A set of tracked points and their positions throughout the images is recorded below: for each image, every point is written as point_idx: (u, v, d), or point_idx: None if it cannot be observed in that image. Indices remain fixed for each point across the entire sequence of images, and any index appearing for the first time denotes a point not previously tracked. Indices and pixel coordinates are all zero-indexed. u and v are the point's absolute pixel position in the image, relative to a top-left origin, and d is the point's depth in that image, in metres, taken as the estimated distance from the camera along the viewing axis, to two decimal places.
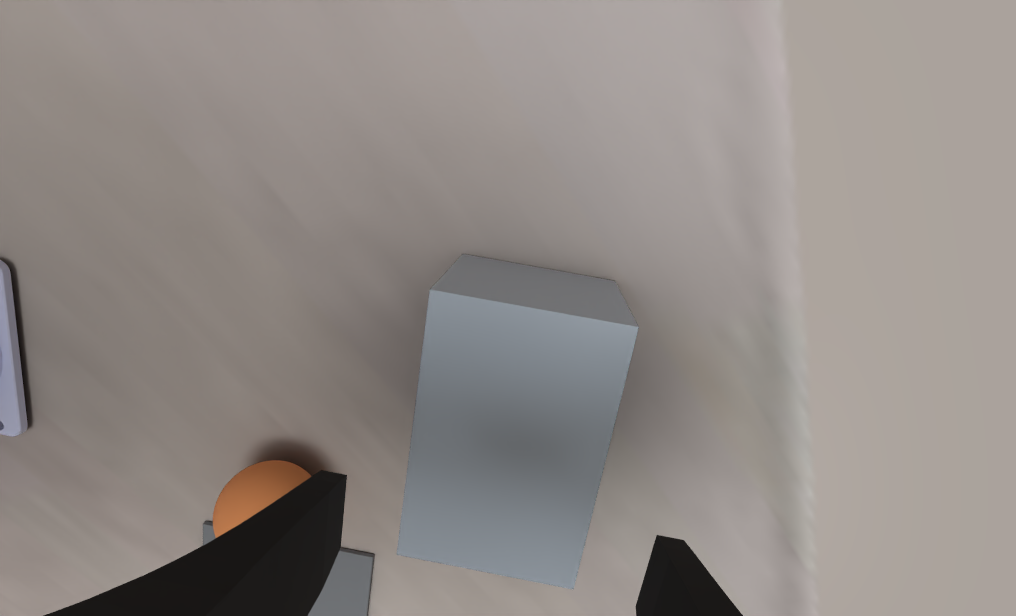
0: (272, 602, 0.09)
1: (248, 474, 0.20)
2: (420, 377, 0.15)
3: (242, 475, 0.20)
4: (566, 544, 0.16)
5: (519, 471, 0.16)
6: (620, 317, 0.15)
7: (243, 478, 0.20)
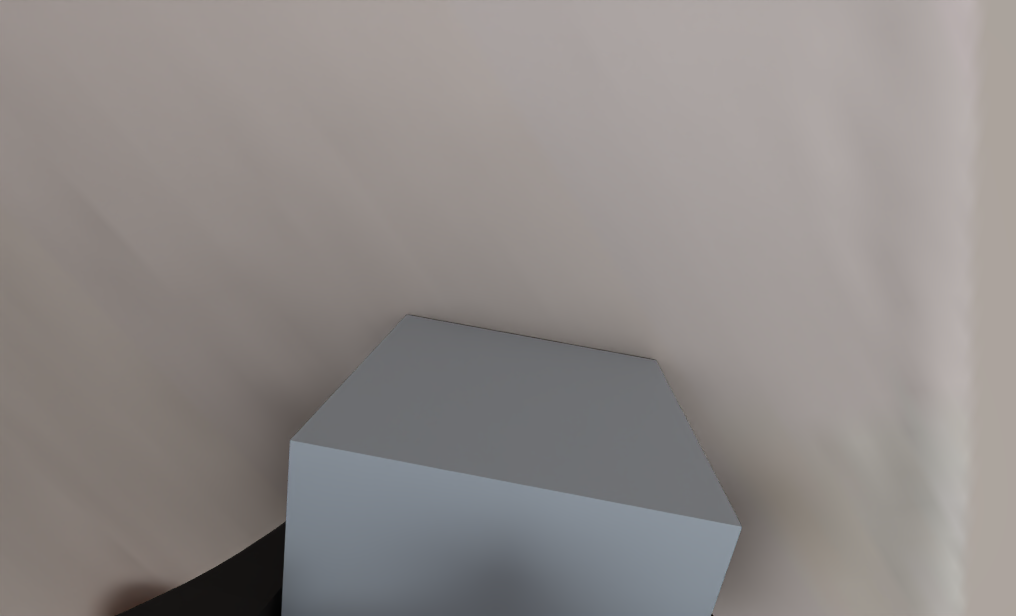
0: None
1: None
2: (285, 604, 0.07)
3: None
4: None
5: None
6: (695, 489, 0.07)
7: None
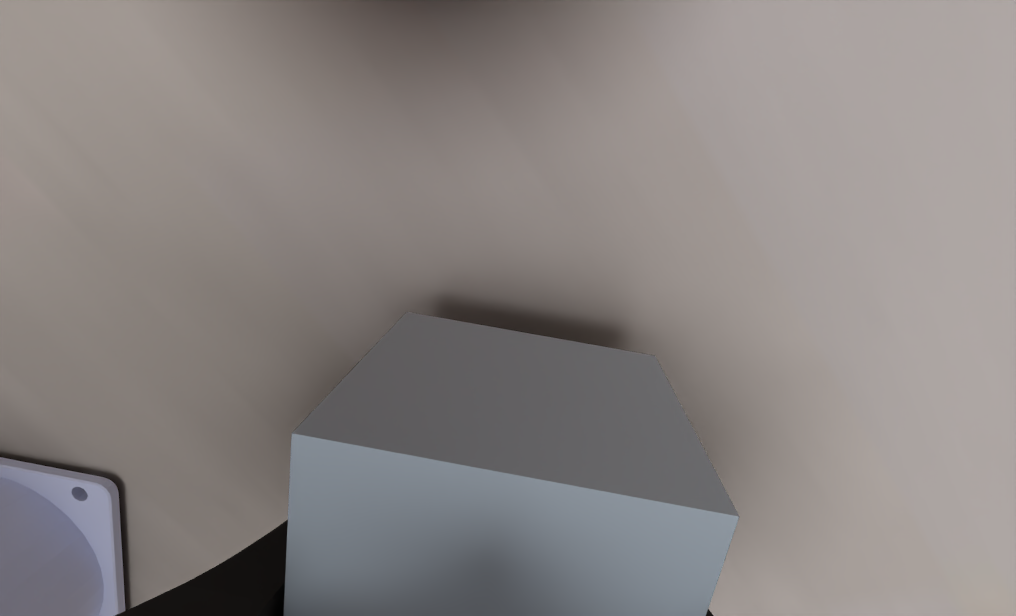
0: None
1: None
2: (287, 596, 0.07)
3: None
4: None
5: None
6: (692, 480, 0.07)
7: None
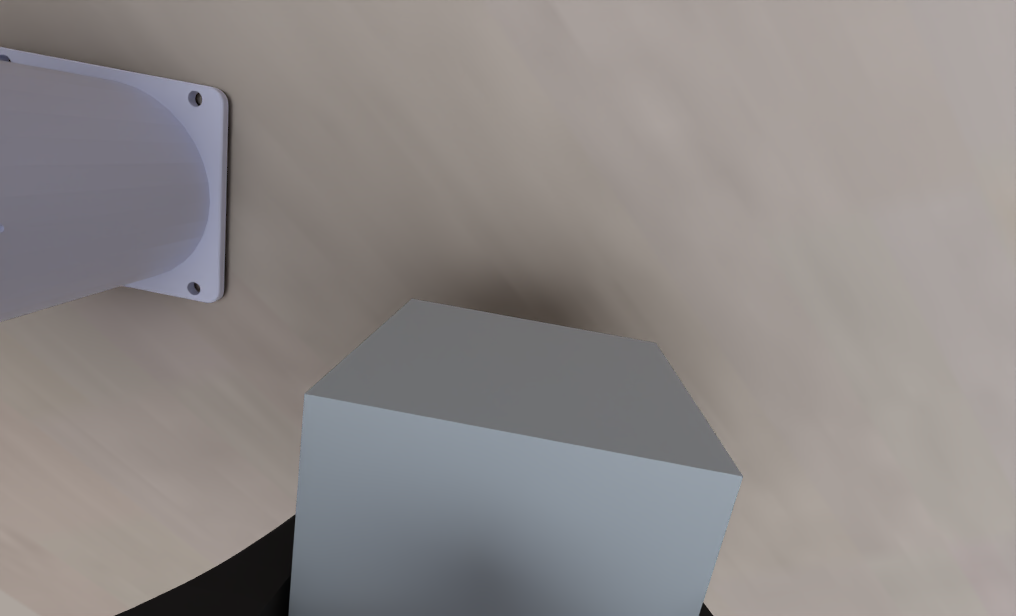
0: None
1: None
2: (295, 562, 0.08)
3: None
4: None
5: None
6: (696, 445, 0.07)
7: None
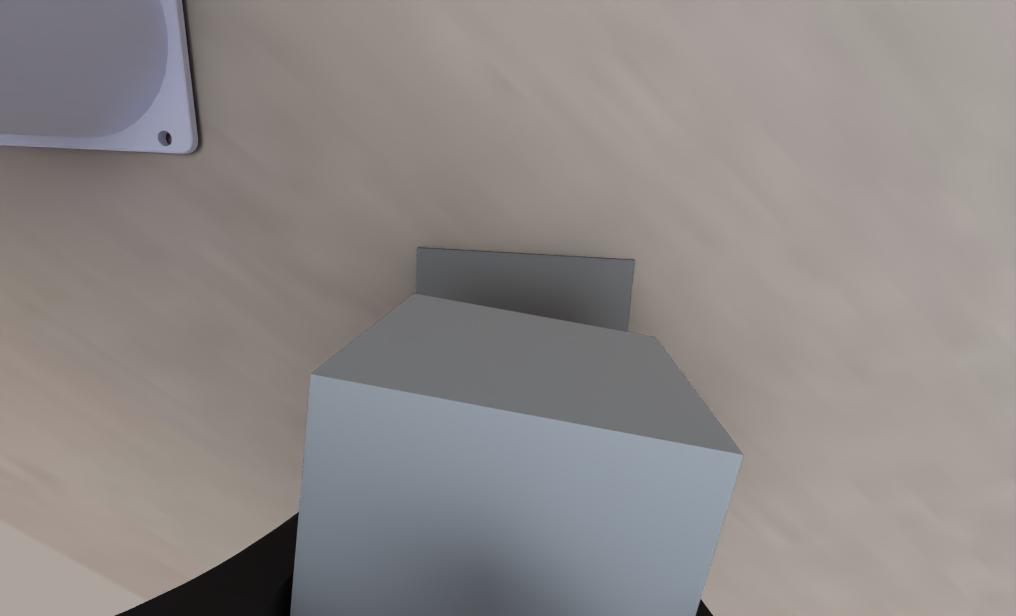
0: None
1: None
2: (299, 545, 0.08)
3: None
4: None
5: None
6: (697, 427, 0.07)
7: None
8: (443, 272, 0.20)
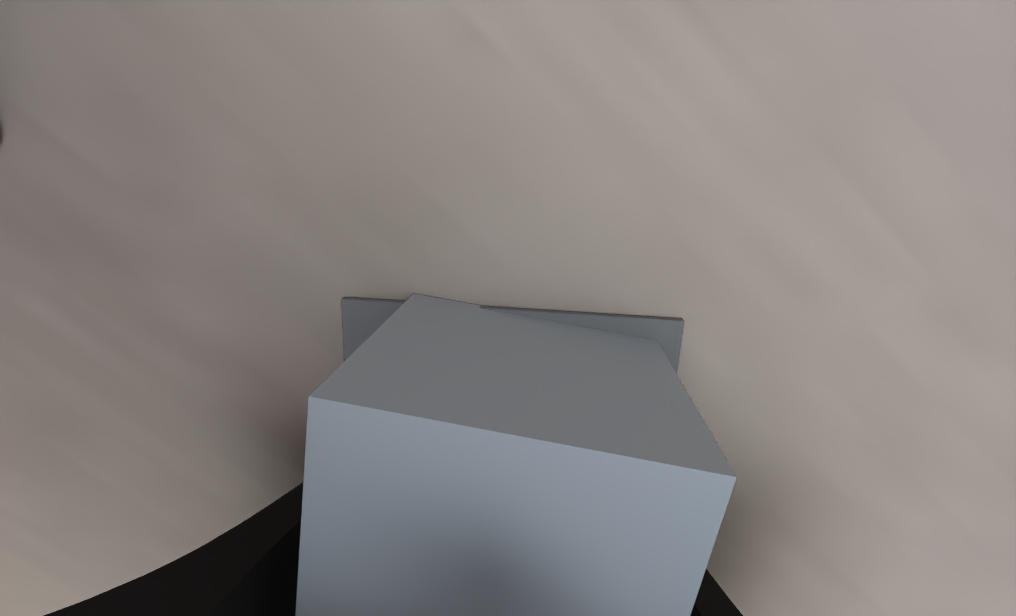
0: (272, 602, 0.09)
1: None
2: (302, 556, 0.08)
3: None
4: None
5: None
6: (692, 445, 0.07)
7: None
8: None
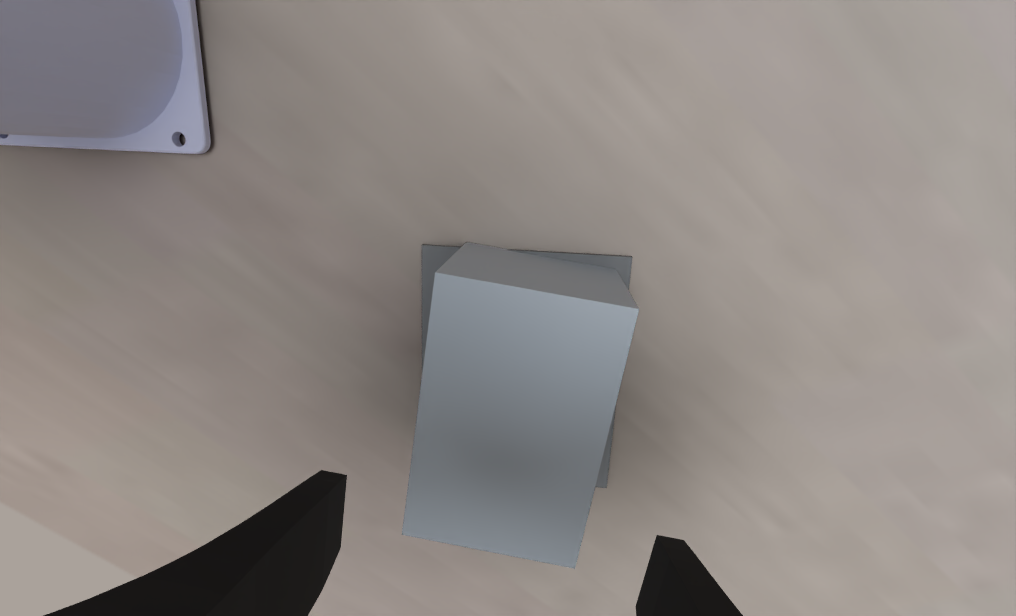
0: (272, 602, 0.09)
1: None
2: (425, 359, 0.15)
3: None
4: (568, 524, 0.17)
5: (522, 451, 0.16)
6: (621, 300, 0.15)
7: None
8: None
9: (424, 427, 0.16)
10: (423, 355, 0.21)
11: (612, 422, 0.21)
